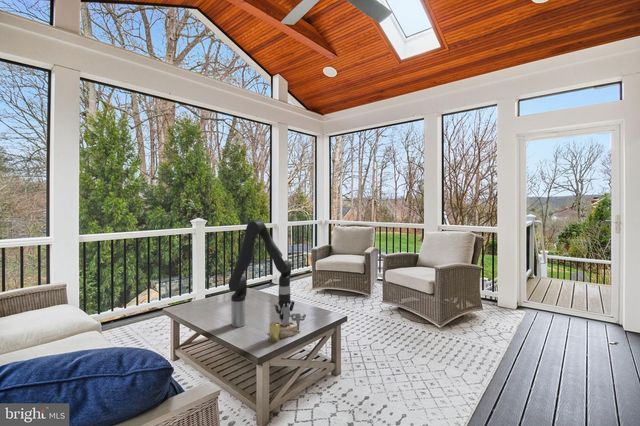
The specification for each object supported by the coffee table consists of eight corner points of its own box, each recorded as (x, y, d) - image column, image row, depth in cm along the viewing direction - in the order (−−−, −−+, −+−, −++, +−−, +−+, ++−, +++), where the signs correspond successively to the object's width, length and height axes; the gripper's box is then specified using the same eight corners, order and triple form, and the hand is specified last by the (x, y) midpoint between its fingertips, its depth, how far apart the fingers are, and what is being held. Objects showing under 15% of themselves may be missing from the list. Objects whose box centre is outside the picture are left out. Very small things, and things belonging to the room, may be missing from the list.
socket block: (271, 331, 205) (271, 324, 205) (288, 327, 212) (288, 320, 211) (280, 338, 195) (280, 330, 195) (297, 333, 202) (297, 326, 202)
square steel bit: (280, 324, 204) (280, 305, 203) (286, 322, 206) (285, 304, 205) (283, 326, 200) (283, 307, 200) (288, 324, 202) (288, 306, 202)
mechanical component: (305, 329, 208) (305, 314, 207) (290, 330, 207) (290, 315, 207) (305, 328, 211) (305, 313, 210) (290, 328, 210) (290, 313, 210)
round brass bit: (268, 339, 194) (267, 323, 193) (276, 337, 197) (276, 321, 197) (272, 343, 189) (272, 326, 188) (281, 340, 192) (281, 324, 192)
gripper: (291, 289, 209) (291, 314, 210) (271, 292, 201) (271, 319, 202) (297, 291, 203) (297, 318, 204) (277, 295, 195) (277, 323, 196)
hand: (284, 318), depth 203 cm, fingers closed on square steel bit, 4 cm apart
